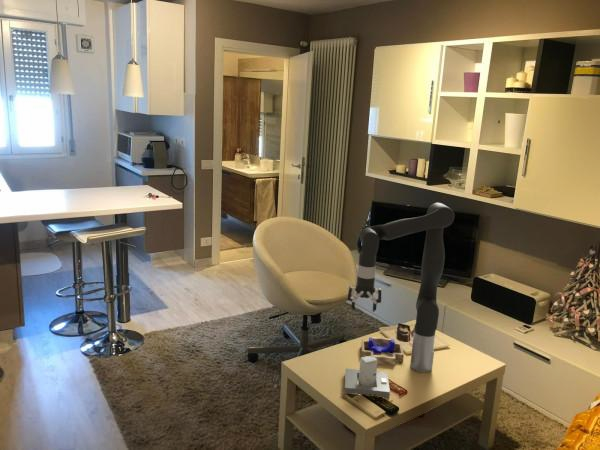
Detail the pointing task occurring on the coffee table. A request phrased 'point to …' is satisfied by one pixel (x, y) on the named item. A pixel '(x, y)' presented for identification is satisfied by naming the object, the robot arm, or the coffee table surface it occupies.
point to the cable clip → (379, 350)
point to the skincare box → (368, 371)
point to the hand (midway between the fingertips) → (363, 310)
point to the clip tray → (383, 359)
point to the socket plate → (379, 388)
